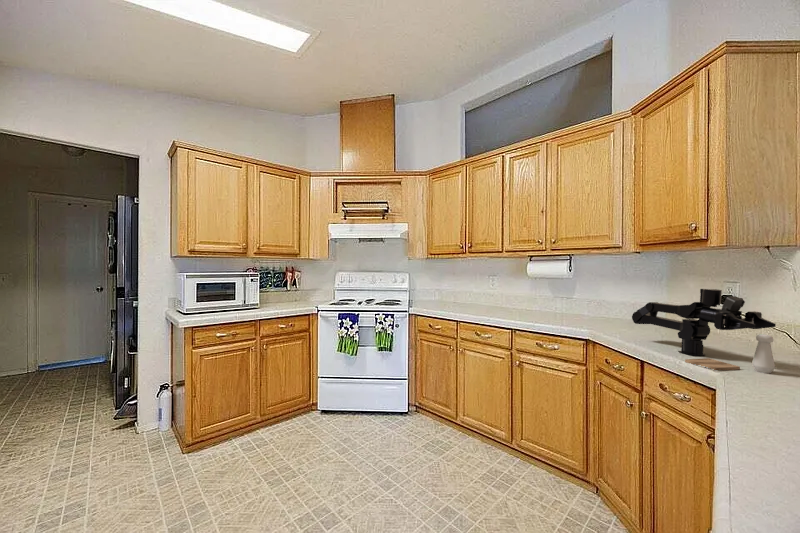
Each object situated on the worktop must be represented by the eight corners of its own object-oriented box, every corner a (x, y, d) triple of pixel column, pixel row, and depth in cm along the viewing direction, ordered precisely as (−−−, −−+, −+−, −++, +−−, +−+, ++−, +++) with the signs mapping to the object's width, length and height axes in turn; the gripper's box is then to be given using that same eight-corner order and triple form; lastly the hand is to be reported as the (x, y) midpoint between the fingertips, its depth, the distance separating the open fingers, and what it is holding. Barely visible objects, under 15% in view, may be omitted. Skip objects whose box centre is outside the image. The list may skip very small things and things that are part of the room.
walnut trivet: (685, 362, 141) (685, 359, 141) (708, 360, 143) (708, 358, 143) (715, 370, 130) (715, 368, 130) (739, 369, 133) (740, 366, 133)
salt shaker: (751, 368, 135) (752, 332, 134) (773, 371, 131) (775, 334, 131) (752, 371, 130) (754, 334, 130) (775, 375, 126) (777, 337, 126)
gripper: (700, 295, 141) (746, 302, 126) (738, 295, 145) (787, 302, 130) (697, 324, 142) (743, 335, 127) (735, 323, 146) (784, 333, 131)
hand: (765, 325), depth 128 cm, fingers open, 9 cm apart
